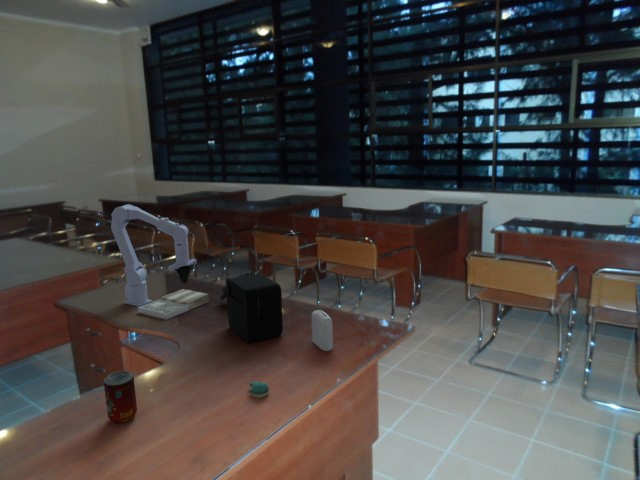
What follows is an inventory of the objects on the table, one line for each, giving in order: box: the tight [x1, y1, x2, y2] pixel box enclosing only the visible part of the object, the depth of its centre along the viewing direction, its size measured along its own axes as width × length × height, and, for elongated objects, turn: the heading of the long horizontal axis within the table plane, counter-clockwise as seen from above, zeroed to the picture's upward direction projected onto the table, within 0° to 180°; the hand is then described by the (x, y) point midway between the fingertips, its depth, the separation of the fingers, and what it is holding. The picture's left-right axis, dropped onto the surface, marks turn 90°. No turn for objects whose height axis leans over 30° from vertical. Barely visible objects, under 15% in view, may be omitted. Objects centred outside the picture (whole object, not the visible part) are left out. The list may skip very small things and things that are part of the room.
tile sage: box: [163, 305, 181, 313], centre depth 195 cm, size 5×5×2 cm
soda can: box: [103, 370, 138, 426], centre depth 120 cm, size 7×7×12 cm
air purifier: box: [225, 272, 284, 344], centre depth 174 cm, size 20×15×20 cm
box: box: [137, 298, 190, 321], centre depth 198 cm, size 17×12×2 cm
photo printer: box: [311, 309, 334, 352], centre depth 161 cm, size 10×4×12 cm, turn 26°
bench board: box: [160, 288, 210, 311], centre depth 208 cm, size 16×13×4 cm
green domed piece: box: [248, 381, 270, 399], centre depth 132 cm, size 6×7×4 cm
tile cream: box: [149, 302, 167, 311], centre depth 200 cm, size 5×5×2 cm
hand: (184, 282), depth 208 cm, fingers closed
